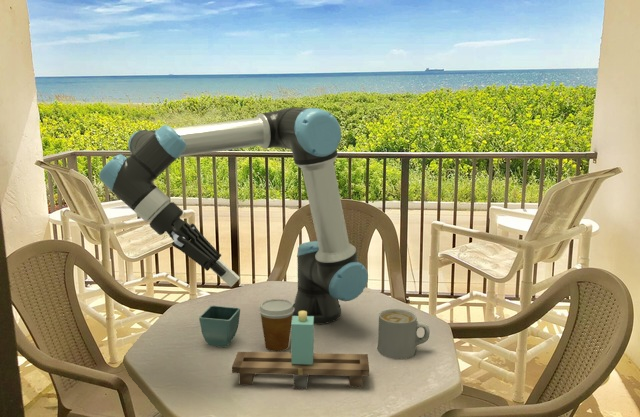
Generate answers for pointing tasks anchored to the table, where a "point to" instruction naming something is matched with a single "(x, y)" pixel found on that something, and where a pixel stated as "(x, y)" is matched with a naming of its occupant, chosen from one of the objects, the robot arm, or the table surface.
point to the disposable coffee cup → (276, 323)
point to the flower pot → (219, 325)
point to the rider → (302, 339)
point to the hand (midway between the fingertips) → (235, 282)
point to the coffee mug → (399, 333)
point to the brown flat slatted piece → (300, 366)
